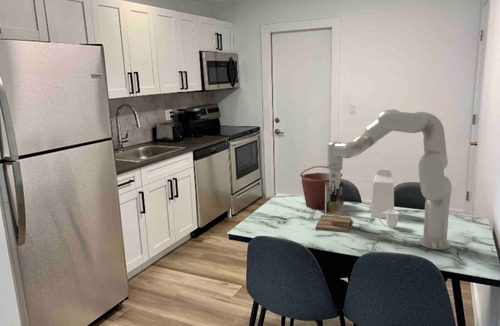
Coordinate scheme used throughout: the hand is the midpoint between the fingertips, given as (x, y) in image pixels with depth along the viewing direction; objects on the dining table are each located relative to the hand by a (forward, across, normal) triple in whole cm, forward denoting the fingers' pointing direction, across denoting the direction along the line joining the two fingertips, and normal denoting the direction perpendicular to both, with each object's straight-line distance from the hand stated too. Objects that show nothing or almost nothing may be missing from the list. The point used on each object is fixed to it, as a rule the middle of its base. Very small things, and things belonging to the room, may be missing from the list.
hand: (334, 199), depth 199 cm
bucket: (+14, +32, +12) cm, 37 cm away
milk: (+14, +24, -24) cm, 37 cm away
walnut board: (+14, 0, 0) cm, 14 cm away
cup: (+14, +4, -27) cm, 31 cm away
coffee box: (+8, 0, 0) cm, 8 cm away
